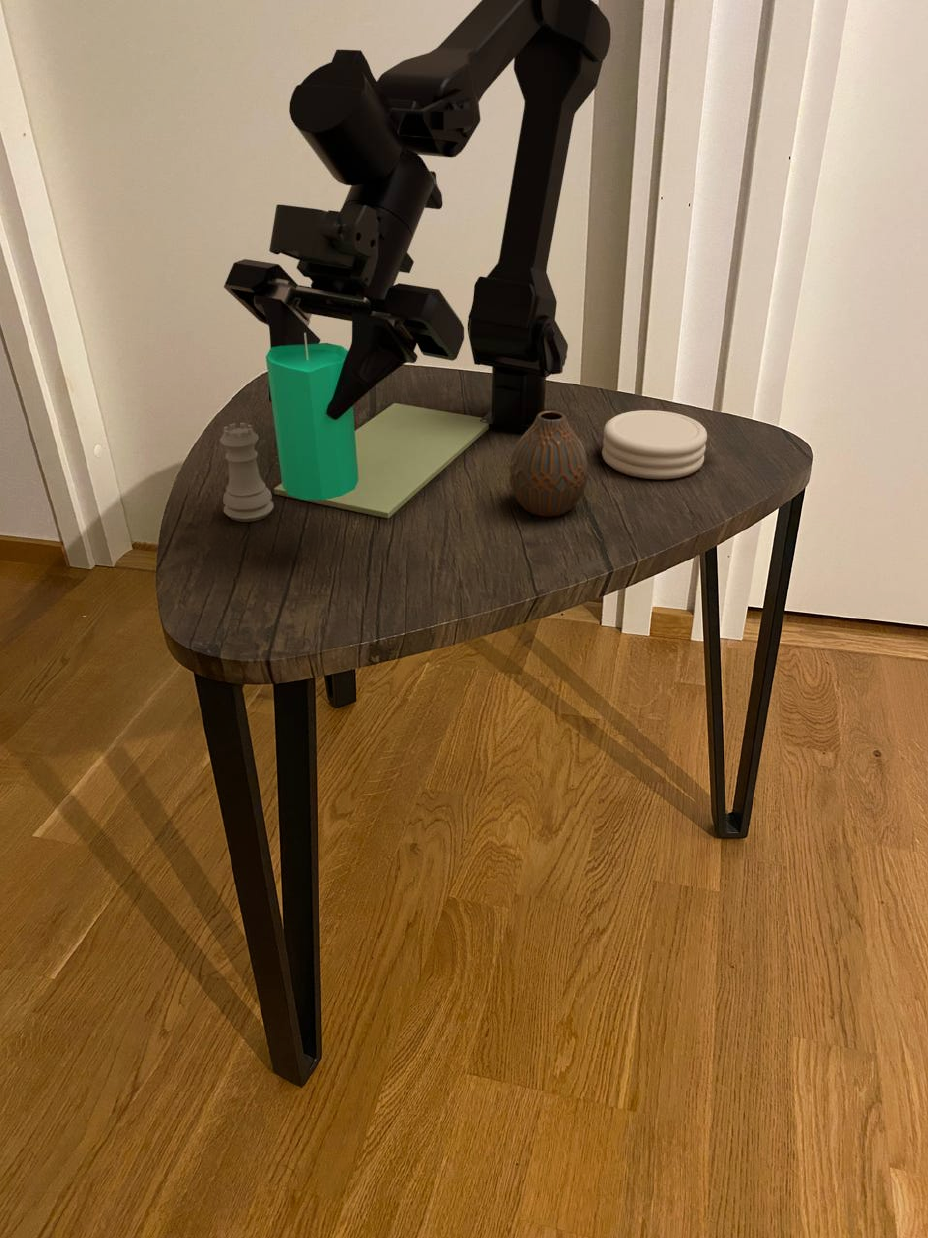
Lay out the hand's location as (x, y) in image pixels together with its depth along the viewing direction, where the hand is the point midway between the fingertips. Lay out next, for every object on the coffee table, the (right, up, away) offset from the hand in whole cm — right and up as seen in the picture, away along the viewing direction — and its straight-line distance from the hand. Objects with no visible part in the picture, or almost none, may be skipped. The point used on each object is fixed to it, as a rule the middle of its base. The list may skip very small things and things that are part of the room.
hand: (301, 410), depth 73 cm
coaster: (+31, 0, +25) cm, 39 cm away
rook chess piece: (-7, -6, +15) cm, 18 cm away
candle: (+1, -5, +5) cm, 7 cm away
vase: (+20, -6, +16) cm, 26 cm away
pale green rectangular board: (+5, +1, +25) cm, 26 cm away
